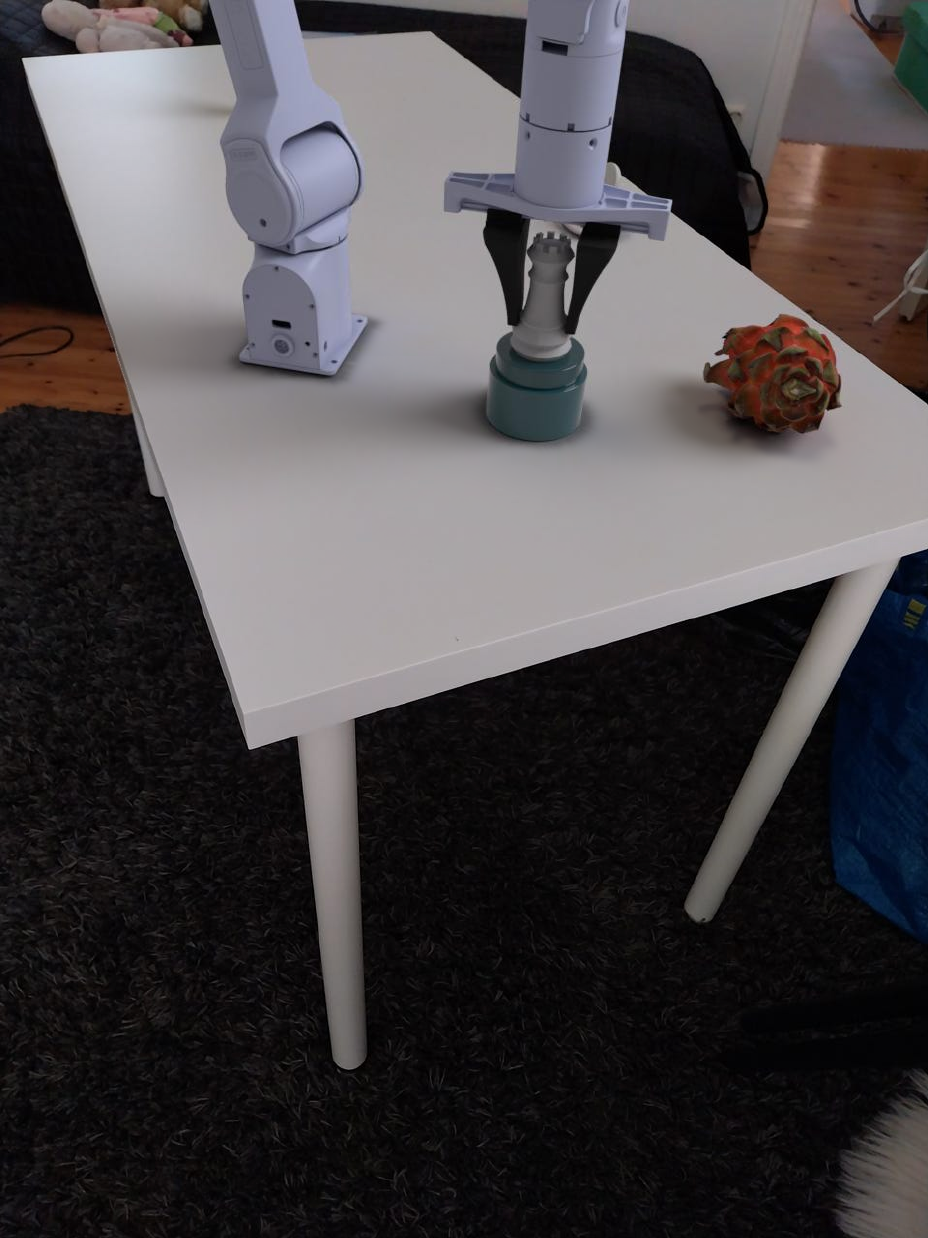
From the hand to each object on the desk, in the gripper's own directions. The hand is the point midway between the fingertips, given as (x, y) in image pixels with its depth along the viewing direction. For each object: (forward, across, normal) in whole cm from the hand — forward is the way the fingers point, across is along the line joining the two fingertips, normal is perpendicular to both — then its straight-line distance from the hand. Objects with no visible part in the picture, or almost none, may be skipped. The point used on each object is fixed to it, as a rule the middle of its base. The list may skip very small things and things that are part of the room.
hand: (543, 323), depth 68 cm
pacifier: (+8, 0, -36) cm, 37 cm away
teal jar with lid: (+8, 0, 0) cm, 8 cm away
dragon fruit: (+8, -17, -5) cm, 19 cm away
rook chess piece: (+2, 0, 0) cm, 2 cm away
